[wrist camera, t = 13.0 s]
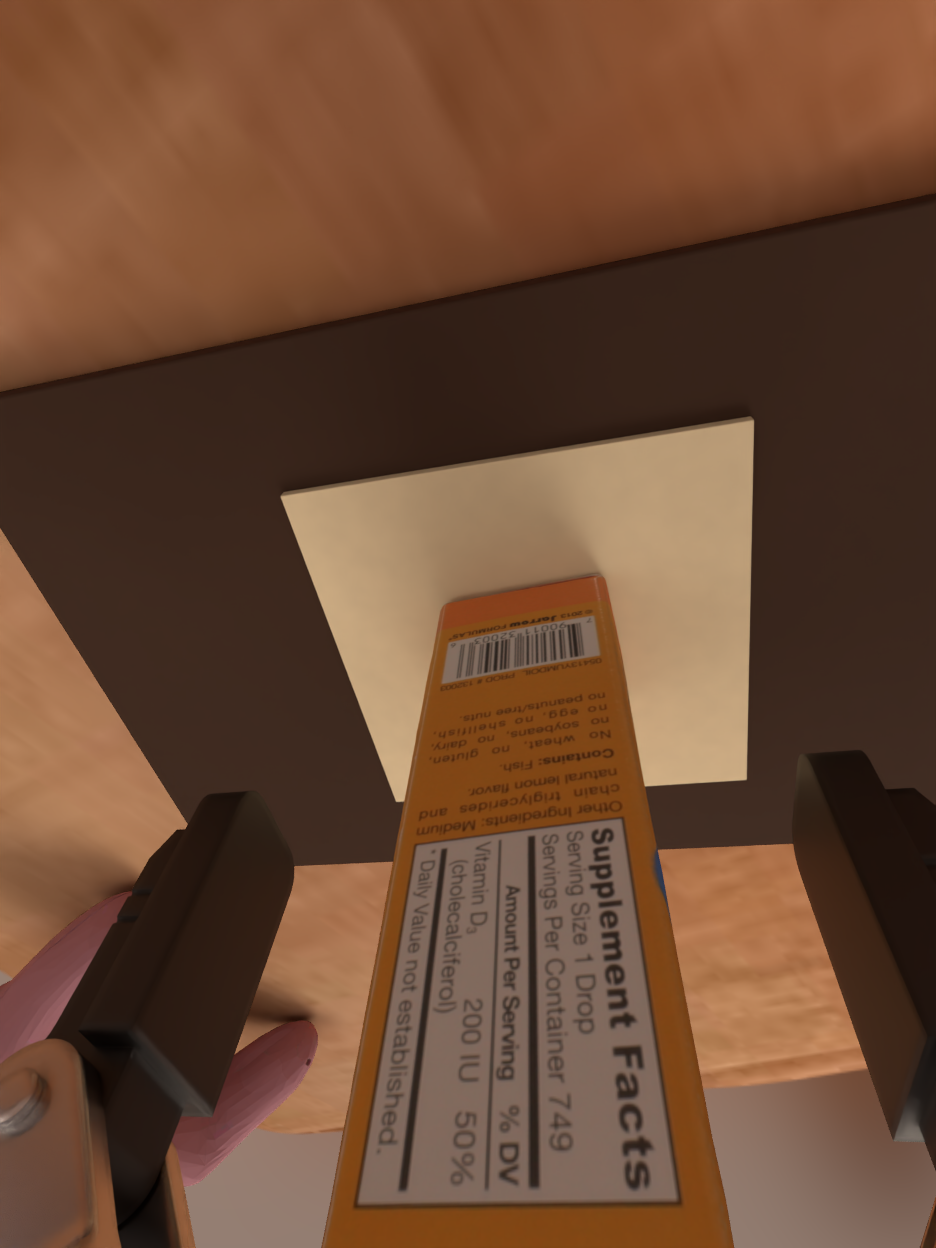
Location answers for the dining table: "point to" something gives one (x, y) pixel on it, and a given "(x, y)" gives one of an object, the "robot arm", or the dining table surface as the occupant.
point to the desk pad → (517, 524)
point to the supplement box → (527, 965)
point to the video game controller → (254, 1075)
